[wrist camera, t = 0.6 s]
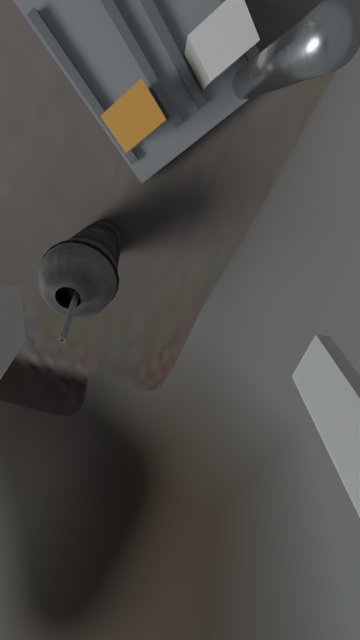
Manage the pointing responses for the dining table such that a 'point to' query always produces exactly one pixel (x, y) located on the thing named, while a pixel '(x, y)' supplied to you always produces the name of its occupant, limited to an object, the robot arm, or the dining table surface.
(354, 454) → the robot arm
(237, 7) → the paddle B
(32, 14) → the panel
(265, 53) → the post
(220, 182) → the dining table surface
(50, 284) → the beverage cup
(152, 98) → the grey orange block
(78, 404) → the dining table surface
